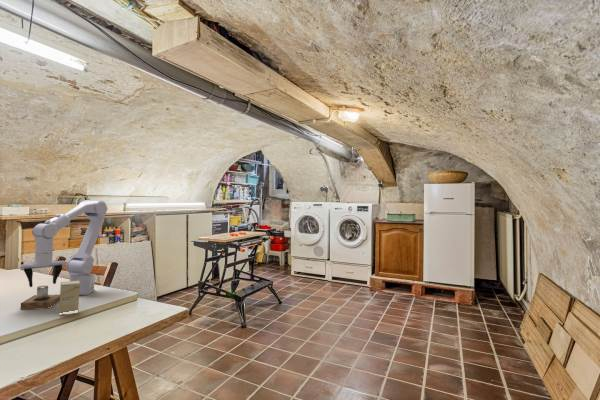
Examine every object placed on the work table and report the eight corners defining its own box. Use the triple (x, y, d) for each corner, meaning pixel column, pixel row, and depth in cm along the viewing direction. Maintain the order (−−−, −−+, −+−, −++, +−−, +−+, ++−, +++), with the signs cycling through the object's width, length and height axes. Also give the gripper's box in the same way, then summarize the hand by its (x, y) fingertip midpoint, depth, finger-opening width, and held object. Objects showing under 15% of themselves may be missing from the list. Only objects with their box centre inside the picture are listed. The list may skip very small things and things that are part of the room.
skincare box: (58, 316, 123) (60, 284, 123) (58, 312, 126) (60, 281, 126) (78, 313, 127) (80, 282, 127) (78, 309, 130) (79, 280, 130)
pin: (46, 301, 136) (46, 285, 136) (48, 303, 134) (49, 286, 134) (35, 303, 133) (36, 286, 133) (37, 305, 131) (38, 288, 131)
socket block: (61, 300, 140) (61, 294, 140) (49, 308, 130) (50, 302, 130) (34, 300, 137) (34, 295, 137) (20, 309, 127) (20, 303, 127)
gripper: (63, 249, 141) (61, 279, 142) (19, 252, 131) (18, 285, 131) (66, 252, 136) (65, 283, 137) (22, 255, 126) (20, 289, 126)
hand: (42, 284), depth 134 cm, fingers open, 7 cm apart
